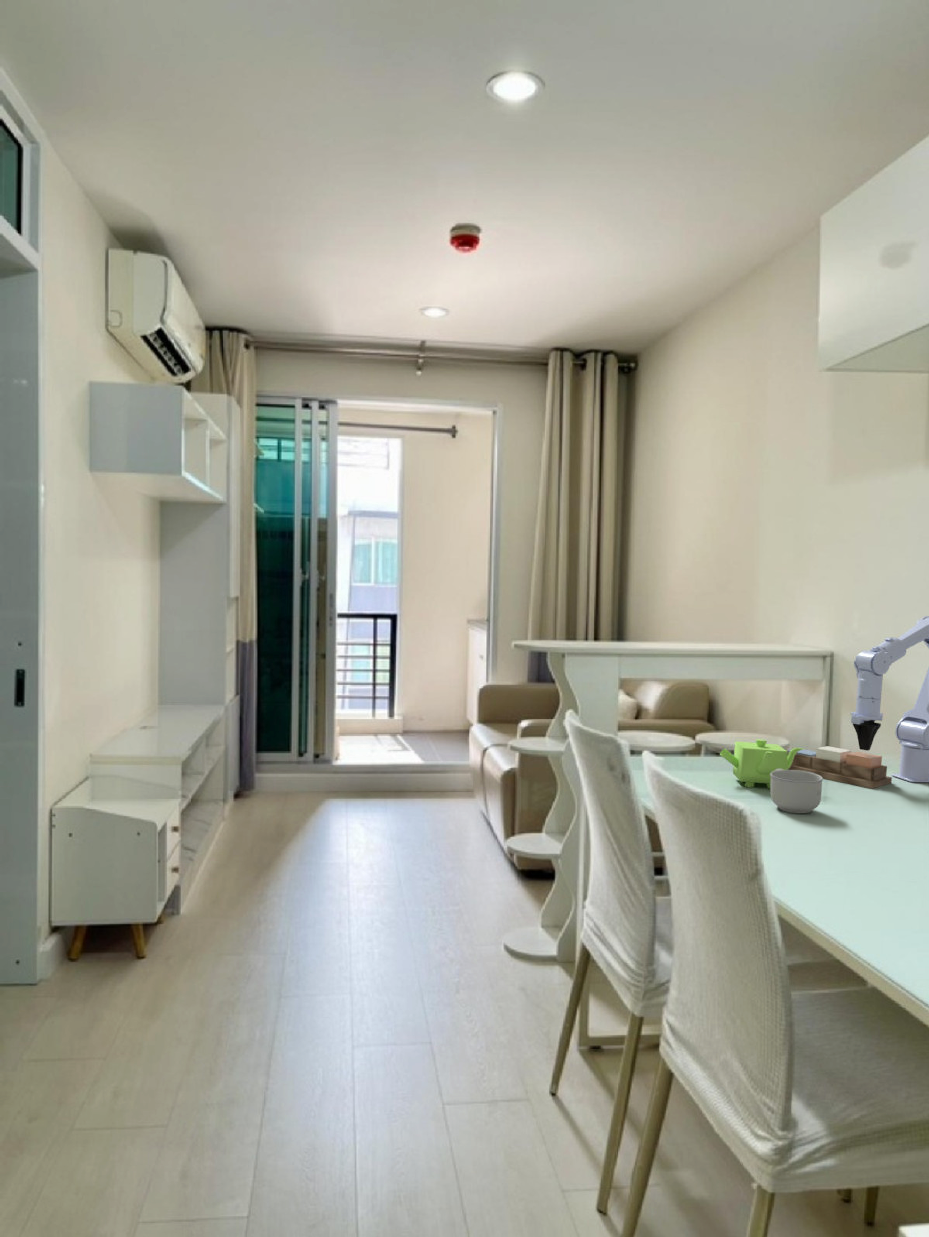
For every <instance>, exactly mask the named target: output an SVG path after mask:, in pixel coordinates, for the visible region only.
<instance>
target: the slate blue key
mask: <svg viewBox="0 0 929 1237" xmlns="http://www.w3.org/2000/svg"><path fill="white" fill-rule="evenodd" d="M791 750H792V749H788V750H787V751H788V752H789V753H790V751H791ZM796 754H799V755H804V756H810V757H813V756H816V751H815V750H810V749H809V750H808V749H805V748H804V749H802V750H800V751H798V752H797V753H796Z"/></svg>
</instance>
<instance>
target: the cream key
mask: <svg viewBox="0 0 929 1237" xmlns="http://www.w3.org/2000/svg"><path fill="white" fill-rule="evenodd" d="M815 752H816V758H820V759H825V760H830V761H835V762H840V763H842V762H846V755H847V754H848V753H852V750H850V749H846V748H840V747H839V748H838V747H834V746H828V745H826V746H821V747H816V751H815Z"/></svg>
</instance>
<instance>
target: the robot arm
mask: <svg viewBox="0 0 929 1237" xmlns="http://www.w3.org/2000/svg"><path fill="white" fill-rule="evenodd" d="M921 642H924V644H925V645H926V647H927V648H928V649H929V616H928V615H926V616H922V617H921V618H919V619H918V620H916V623H915V625H914V626H913V627H911V628H910V629H909V630H907V631H906V632H904V633H903V634H902V635H901V636H899V637H886V638H884V641H883V642H881V643H879V644H878V645H875V646H873V647H872V649H869V650H863V651H861V652H860V653H858V654H857V655H856V657H855V660H854V661H853V665H854V666H853V667H854V668H855V670H856V678H857V690H856V703H855V711H852V712H850V717H851V719H850V724H852V726H853V728H854V730H855V732H856V736H857V742H858V747H859V750H863V751H870V749H871V748H872V745H873V742H874V738H875V737H876V734H877V733H878V731H879V729H880V728H881V727H882V726H881V725H882V724H881V723H880V722H882V721H883V718H884V717H883V716H884V713H882V712H881V702H882V701H881V700H882V690H883V678H884V677H883V676H884V675H885V674H886V673H888V671H889V669H890V666H892V664H894V663H895V662H897V661H898V660H900V659H902V658H903V657H905V656H906V653H907V649H909V648H911V647H914V646H915V645H917V644H919V643H921ZM922 682H923V683H922V684H921V688H920V690H919V693H918V696H917V698H916V700H915V704H914V707H913V708H911V709H909V710H907V711H905V712H904V713H903V714H902V717H901V719H900V720H899V721H897V724H896V726H895V733H894V734H895V736H896V738H897V740H898V741H899V744H900V745H901V746H900V756H899V757H900V760H899V768H898V770H899V771H898V772H899V773H891V774H890V775H891V776H893V777H894V778H898V779H900V780H901V779H902V780H904V781H908V782H910V783H929V667H928V669H927V670H926V673H925V676H924V679H923V681H922ZM876 721H880V722H876Z"/></svg>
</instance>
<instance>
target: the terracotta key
mask: <svg viewBox="0 0 929 1237" xmlns="http://www.w3.org/2000/svg"><path fill="white" fill-rule="evenodd" d="M882 759H883V756H882V755H878V754H872V753H866V752H862V751H853V752H851V753H848V754H847V755H846V764H850V765H855V766H860V767H865V768H871V769H874V768H878V767H881V765H882Z"/></svg>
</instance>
